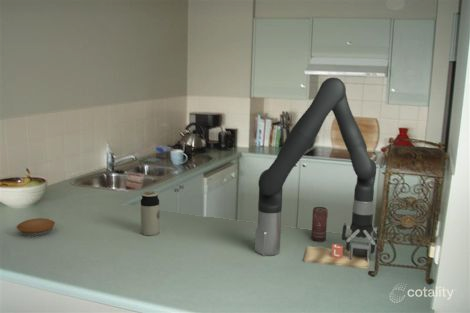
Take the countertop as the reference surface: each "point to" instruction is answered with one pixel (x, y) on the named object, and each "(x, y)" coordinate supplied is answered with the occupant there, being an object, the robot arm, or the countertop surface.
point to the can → (319, 224)
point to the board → (326, 258)
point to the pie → (36, 227)
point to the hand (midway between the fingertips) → (360, 251)
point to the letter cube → (337, 251)
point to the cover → (360, 249)
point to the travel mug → (150, 213)
